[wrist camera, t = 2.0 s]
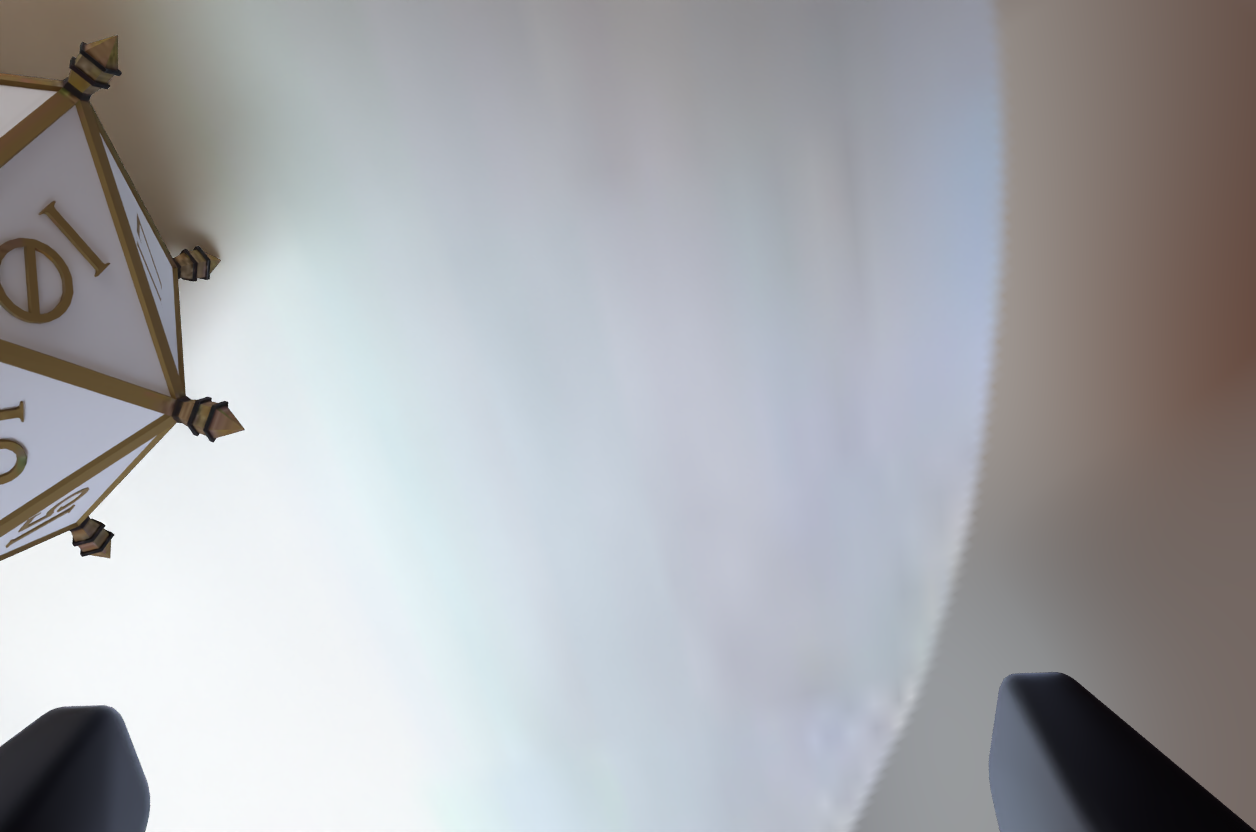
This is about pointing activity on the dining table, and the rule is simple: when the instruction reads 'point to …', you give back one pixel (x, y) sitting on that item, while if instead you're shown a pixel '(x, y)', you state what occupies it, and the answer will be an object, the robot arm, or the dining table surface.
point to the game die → (81, 313)
